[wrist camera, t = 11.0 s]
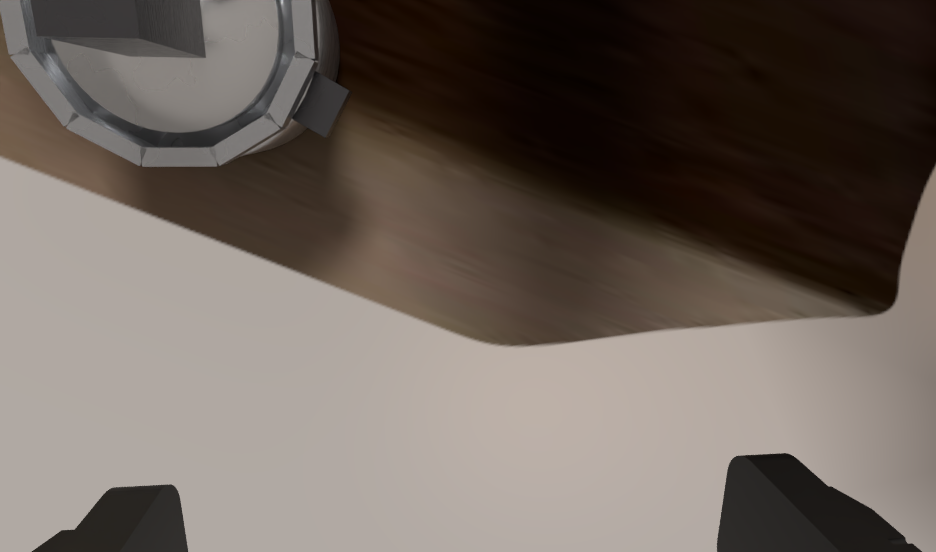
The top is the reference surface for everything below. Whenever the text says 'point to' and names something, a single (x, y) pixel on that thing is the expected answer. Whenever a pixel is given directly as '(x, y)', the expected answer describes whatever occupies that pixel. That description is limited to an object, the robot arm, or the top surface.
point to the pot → (262, 128)
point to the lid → (168, 56)
